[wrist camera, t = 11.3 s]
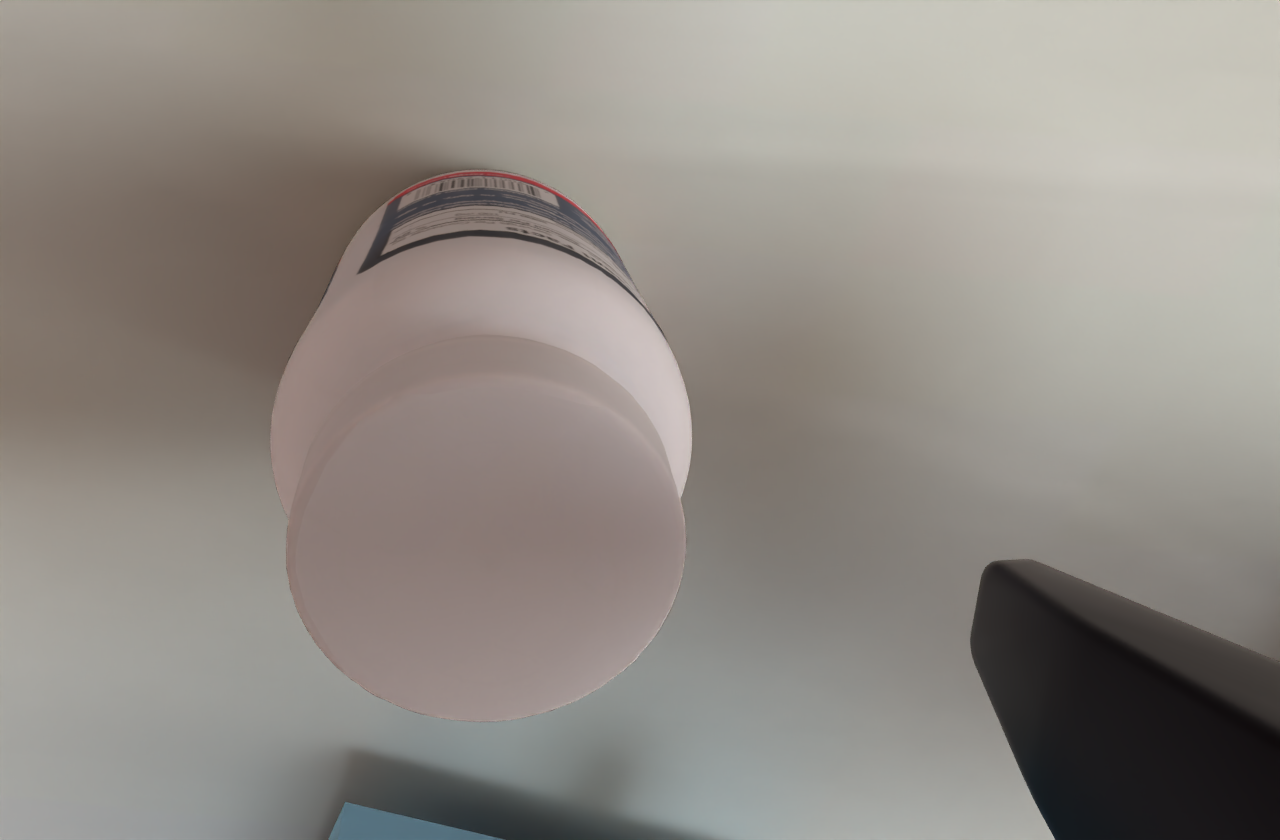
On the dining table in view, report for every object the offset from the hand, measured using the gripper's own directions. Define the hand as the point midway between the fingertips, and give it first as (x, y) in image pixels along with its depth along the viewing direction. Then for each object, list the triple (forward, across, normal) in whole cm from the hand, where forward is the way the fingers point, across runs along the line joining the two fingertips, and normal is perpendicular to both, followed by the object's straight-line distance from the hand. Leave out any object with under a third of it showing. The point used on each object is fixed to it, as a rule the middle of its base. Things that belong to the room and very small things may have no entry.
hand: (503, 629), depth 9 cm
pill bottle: (+10, 0, 0) cm, 10 cm away
